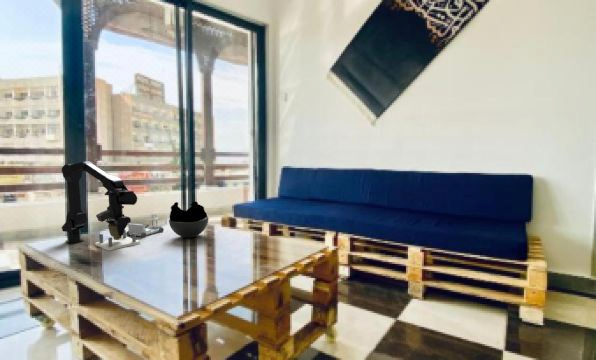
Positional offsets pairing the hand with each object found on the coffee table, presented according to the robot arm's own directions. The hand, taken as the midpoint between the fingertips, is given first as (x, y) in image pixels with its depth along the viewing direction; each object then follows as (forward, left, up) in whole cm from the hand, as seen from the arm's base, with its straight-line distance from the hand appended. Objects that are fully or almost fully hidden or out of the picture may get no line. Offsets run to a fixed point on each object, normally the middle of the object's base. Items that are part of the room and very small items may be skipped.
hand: (117, 235), depth 169 cm
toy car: (-11, +20, -5) cm, 23 cm away
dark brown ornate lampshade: (0, 0, -2) cm, 2 cm away
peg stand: (0, 0, -4) cm, 4 cm away
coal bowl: (+16, +30, -5) cm, 34 cm away
